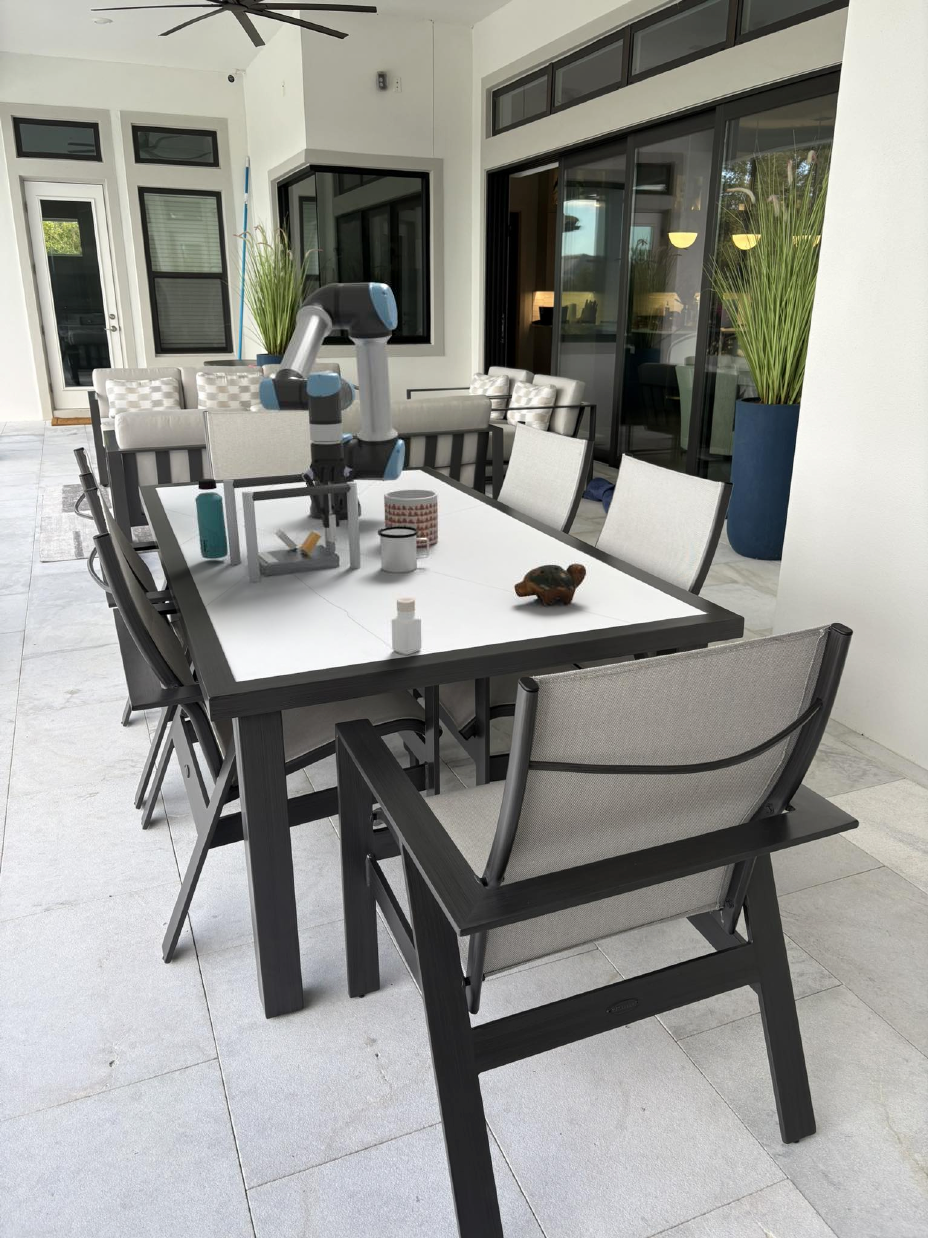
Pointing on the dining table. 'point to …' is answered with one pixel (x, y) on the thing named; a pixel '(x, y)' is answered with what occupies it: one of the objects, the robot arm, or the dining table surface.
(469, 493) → the dining table surface
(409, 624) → the small white bottle
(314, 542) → the amber brick
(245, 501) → the cord rack
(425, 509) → the planter
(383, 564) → the mug
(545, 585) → the decorative turtle
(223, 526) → the beverage bottle
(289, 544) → the off-white eraser brick
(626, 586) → the dining table surface
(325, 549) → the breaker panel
